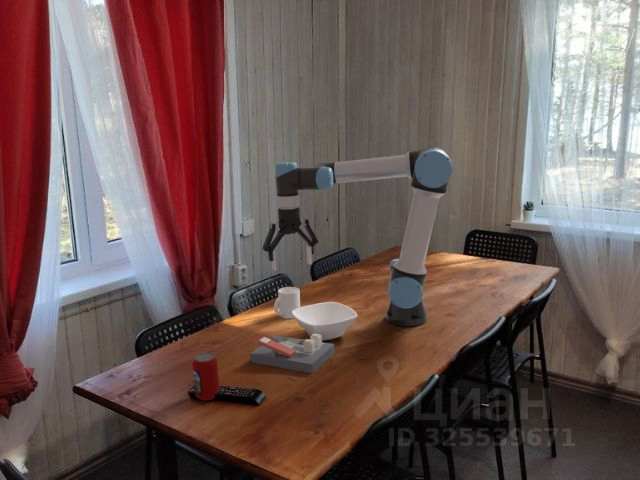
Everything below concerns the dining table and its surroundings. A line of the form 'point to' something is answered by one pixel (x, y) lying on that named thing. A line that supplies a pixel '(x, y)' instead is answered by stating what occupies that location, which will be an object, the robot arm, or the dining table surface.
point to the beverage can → (205, 376)
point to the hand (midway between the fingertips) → (292, 266)
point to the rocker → (276, 346)
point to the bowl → (325, 319)
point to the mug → (287, 302)
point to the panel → (298, 360)
